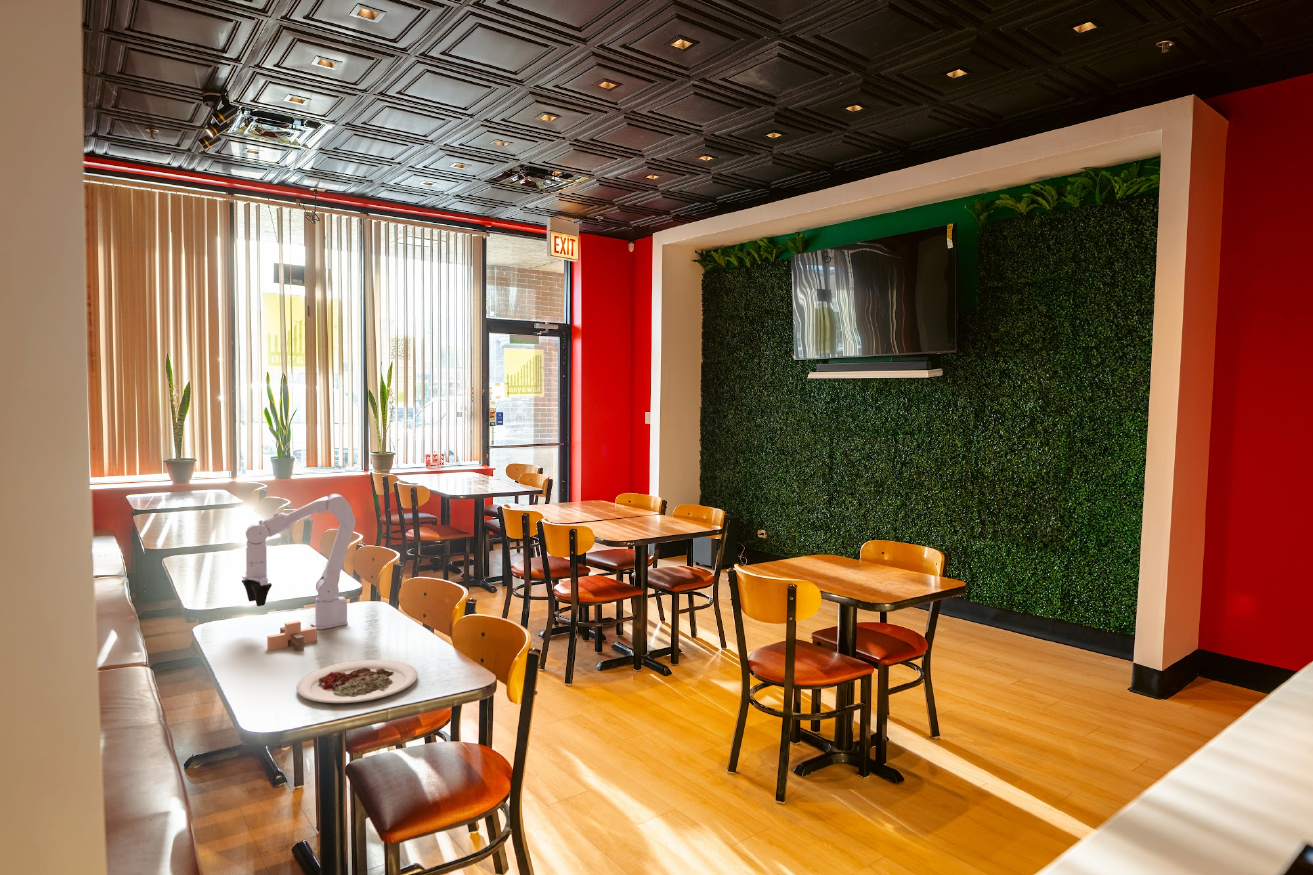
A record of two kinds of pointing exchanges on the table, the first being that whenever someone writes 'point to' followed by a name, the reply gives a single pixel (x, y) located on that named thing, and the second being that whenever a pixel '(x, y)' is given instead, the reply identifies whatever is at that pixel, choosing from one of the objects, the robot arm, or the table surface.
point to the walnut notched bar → (295, 640)
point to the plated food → (356, 681)
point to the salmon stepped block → (290, 628)
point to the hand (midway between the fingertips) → (256, 603)
